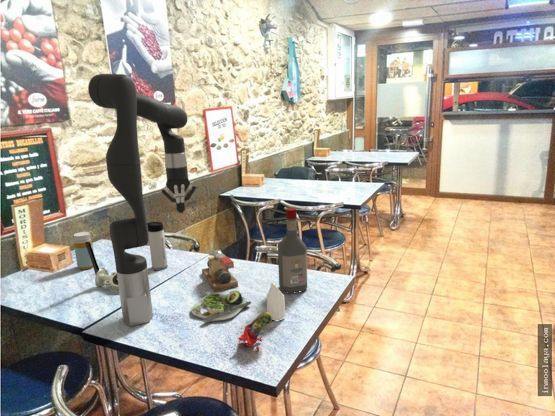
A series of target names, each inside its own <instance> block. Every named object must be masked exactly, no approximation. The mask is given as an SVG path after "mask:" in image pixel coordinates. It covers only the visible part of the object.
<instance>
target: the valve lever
mask: <svg viewBox="0 0 555 416" xmlns="http://www.w3.org/2000/svg"><path fill="white" fill-rule="evenodd" d="M213 256H214V257H215V258H217V259H218V260H219V261H220V264H221V265H222V266H223V267H224V268H225V269H228V270H230V269H233V268H234V266H235V265H234V260H232V259H231V258H230V257H229V256H226V255H225V254H224V253H223V252H222V250H221V249H215V250H213Z"/></svg>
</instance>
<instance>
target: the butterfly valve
mask: <svg viewBox="0 0 555 416" xmlns="http://www.w3.org/2000/svg"><path fill="white" fill-rule="evenodd" d="M85 245H86V248H87V250H88V253H89V256H90V259H91V262H92V265H93V268H92V269H93V271H94V275H95V276H94V284H95V286H96V287H97V288H100V286H101V287H103V286H109V287H110V286H111V288H112V290H113V291H115V292H118V293H119V287H118V279H117V272H116V271H115V272H112V273H110V274H109V271H108V269H105V267H99V265H98V261H97V259H96V257H95V252H94V253H93V251H94V249H93V250H92V247H91V244H90V242H85Z"/></svg>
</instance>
